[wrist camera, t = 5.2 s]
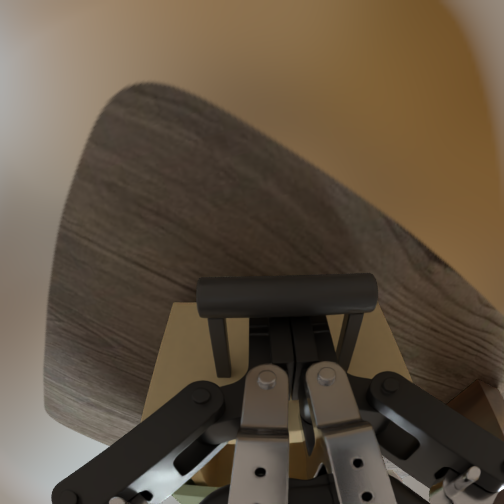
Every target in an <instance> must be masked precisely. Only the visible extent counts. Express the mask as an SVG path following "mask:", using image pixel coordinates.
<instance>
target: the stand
mask: <svg viewBox="0 0 504 504" xmlns="http://www.w3.org/2000/svg"><path fill="white" fill-rule="evenodd" d="M446 405H447V406H449V407H450V408H452V409H453V410H455V411H457V412H458V413H460V414H461V415H463V416H464V417H466V418H467V419H469V420H471V421H472V422H474V423H475V424H477V425H478V426H480V427H482V428H483V429H485V430H486V431H488V432H489V433H491V434H493V435H494V436H496V437H497V438H499V439H501V440H502V441H504V399H503V397H502V396H501V394H500V392H499V390H498V389H497V388H495V387H493V386H491V385H489V384H486V383H484V382H482V381H480V380H478V379H477V380H476V381H475V382H474V383H472V384H471V385H470V386H469V387H468V388H466V389H465V390H464V391H463V392H462V393H460V394H459V395H458V396H457V397H455V398H454V399H453V400H451V401H450V402H449V403H447V404H446ZM493 504H504V489H502V490H501V491H500V492H499V493H498V494H497V496H496V498H495V500H494V502H493Z"/></svg>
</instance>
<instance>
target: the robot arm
mask: <svg viewBox="0 0 504 504" xmlns="http://www.w3.org/2000/svg"><path fill="white" fill-rule="evenodd" d="M290 396H291V398H292V400H299V415H298V419H299V424H300V429H301V434H302V440H303V445H304V450H305V455H306V473H307V480H302V479H295V478H289V431H288V409H289V401H290ZM235 439H236V443H235V451H234V459H233V467H232V475H231V483H230V484H228V485H225V486H223V487H220V488H218V489H217V490H215V491H213V492H211V493H210V494H209V495H207V496H206V497H205V498H204V499H203V500H202V501H201V502H200V503H199V504H430V503H431V504H493V502H494V500H495V498H496V496H497V494H498V493H499V492H500V491H501V490H502V489H504V441H502V440H501V439H499V438H497V437H496V436H494V435H493V434H491V433H489V432H488V431H486V430H485V429H483V428H482V427H480V426H478V425H477V424H475V423H474V422H472V421H471V420H469V419H467V418H466V417H464V416H463V415H461V414H460V413H458V412H457V411H455V410H453V409H452V408H450V407H449V406H447V405H446V404H444V403H443V402H441V401H440V400H438V399H437V398H435V397H433V396H432V395H430V394H429V393H427V392H426V391H424V390H423V389H421V388H420V387H418V386H417V385H415V384H414V383H412V382H411V381H409V380H408V379H406V378H405V377H403V376H402V375H400V374H398V373H396V372H392V371H384V372H380V373H378V374H376V375H375V376H374V377H373V378H372V379H369V378H363V377H357V376H353V375H351V374H349V373H347V372H346V371H345V370H344V369H343V368H342V367H341V366H340V365H339V363H338V360H337V356H336V352H335V348H334V344H333V340H332V336H331V333H330V328H329V325H328V321H327V317H326V315H322V316H301V317H271V318H249V363H248V370H247V372H246V374H245V375H244V376H243V377H242V378H241V379H240V380H238V381H236V382H234V383H232V384H228V385H225V386H221V387H219V386H218V385H217V384H215V383H213V382H210V381H204V380H201V381H195V382H192V383H190V384H189V385H187V386H186V387H185V388H183V389H182V390H181V391H180V392H179V393H177V394H176V395H175V396H174V397H172V398H171V399H170V400H169V401H168V402H166V403H165V404H164V405H163V406H161V407H160V408H159V409H158V410H156V411H155V412H154V413H153V414H151V415H150V416H149V417H148V418H146V419H145V420H144V421H142V422H141V423H140V424H139V425H137V426H136V427H135V428H133V429H132V430H131V431H130V432H128V433H127V434H126V435H124V436H123V437H122V438H120V439H119V440H118V441H116V442H115V443H114V444H112V445H111V446H110V447H108V448H107V449H106V450H104V451H103V452H102V453H100V454H99V455H98V456H96V457H95V458H93V459H92V460H91V461H89V462H88V463H86V464H85V465H84V466H82V467H81V468H79V469H78V470H77V471H75V472H74V473H72V474H71V475H69V476H68V477H67V478H65V479H64V480H62V481H61V482H59V483H58V484H57V485H56V486H55V488H54V489H53V491H52V497H51V498H52V504H160V503H162V502H163V501H164V500H166V499H167V498H168V497H169V496H170V495H172V494H173V493H174V492H175V491H176V490H177V489H179V488H180V487H181V486H182V485H183V484H184V483H186V482H187V481H188V480H189V479H190V478H191V477H192V476H193V475H195V474H196V473H197V472H198V471H199V470H200V469H201V468H202V467H203V466H204V465H205V464H207V463H208V462H209V461H210V460H211V459H212V458H213V457H214V456H215V455H216V454H217V453H218V452H219V451H220V450H221V449H222V448H223V447H224V446H225V445H226V444H227V443H228V442H229V441H231V440H235ZM382 455H383V456H384V457H385V458H387V459H388V460H389V461H391V462H392V463H394V464H395V465H396V466H398V467H399V468H401V469H402V470H403V471H405V472H406V473H408V474H409V475H411V476H412V477H413V478H415V479H416V480H418V481H419V482H421V483H422V484H424V485H425V486H427V487H428V488H430V491H429V501H430V503H429V502H428V501H426V500H425V499H423V498H422V497H421V496H419V495H418V494H417V493H415V492H414V491H413V490H411V489H410V488H409V487H407V486H406V485H405V484H403V483H402V482H401V481H399V480H398V479H396V478H395V477H393V476H391V475H388V472H387V469H386V466H385V463H384V460H383V457H382Z"/></svg>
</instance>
